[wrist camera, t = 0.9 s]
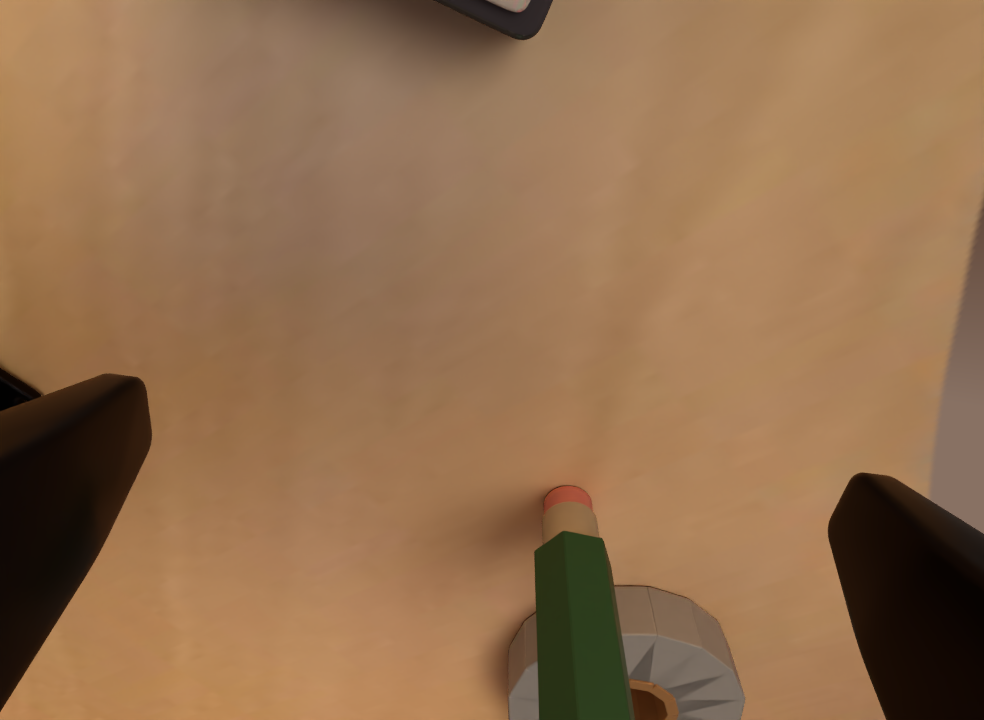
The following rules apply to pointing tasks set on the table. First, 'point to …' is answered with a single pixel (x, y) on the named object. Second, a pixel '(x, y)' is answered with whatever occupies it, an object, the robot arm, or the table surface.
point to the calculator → (505, 14)
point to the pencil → (577, 617)
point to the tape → (650, 661)
